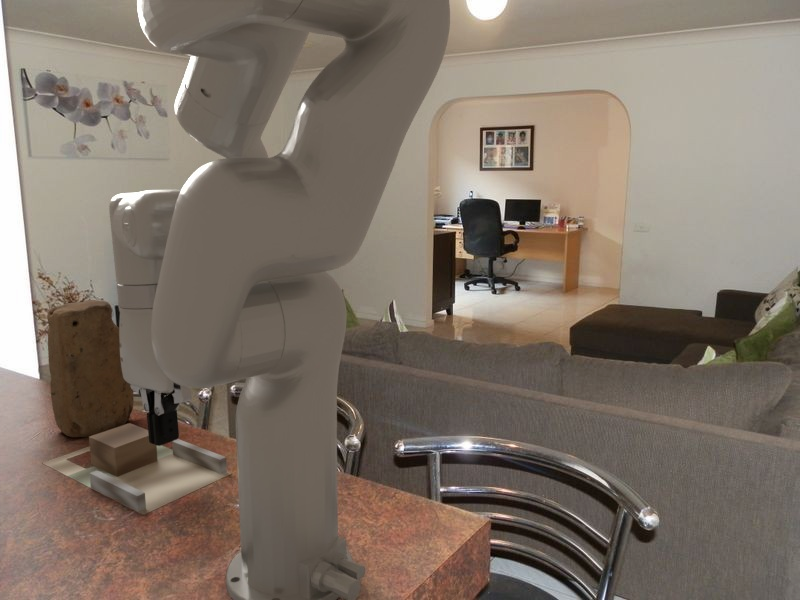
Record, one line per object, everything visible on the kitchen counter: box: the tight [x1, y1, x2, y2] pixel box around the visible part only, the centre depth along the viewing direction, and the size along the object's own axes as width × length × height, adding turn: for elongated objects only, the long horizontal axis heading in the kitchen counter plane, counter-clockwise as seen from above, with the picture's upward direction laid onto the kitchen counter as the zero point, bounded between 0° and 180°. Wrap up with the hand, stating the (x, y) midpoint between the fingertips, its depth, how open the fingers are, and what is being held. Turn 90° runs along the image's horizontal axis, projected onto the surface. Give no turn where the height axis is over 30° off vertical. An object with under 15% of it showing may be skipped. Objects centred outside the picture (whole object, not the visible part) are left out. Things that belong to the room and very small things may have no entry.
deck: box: [41, 438, 232, 516], centre depth 88 cm, size 23×13×3 cm, turn 55°
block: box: [46, 299, 135, 438], centre depth 102 cm, size 11×8×20 cm
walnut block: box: [88, 422, 158, 477], centre depth 89 cm, size 6×6×4 cm
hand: (164, 441), depth 83 cm, fingers closed
